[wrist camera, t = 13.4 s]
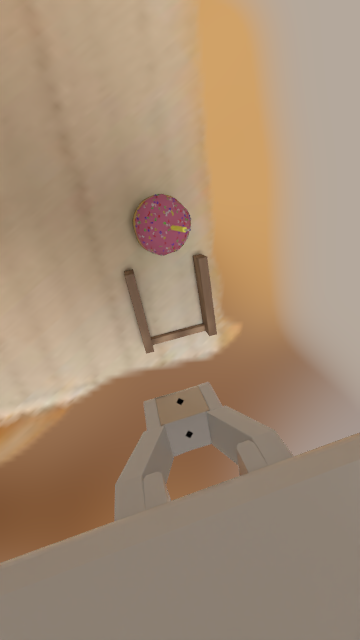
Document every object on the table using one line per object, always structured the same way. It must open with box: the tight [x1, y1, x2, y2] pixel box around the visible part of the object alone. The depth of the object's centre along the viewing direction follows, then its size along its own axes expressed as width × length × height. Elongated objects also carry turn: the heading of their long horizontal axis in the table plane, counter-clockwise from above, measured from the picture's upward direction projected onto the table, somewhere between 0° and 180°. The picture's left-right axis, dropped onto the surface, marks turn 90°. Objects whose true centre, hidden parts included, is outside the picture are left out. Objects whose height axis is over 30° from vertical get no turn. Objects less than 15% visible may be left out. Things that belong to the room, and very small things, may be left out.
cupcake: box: [133, 194, 191, 255], centre depth 36 cm, size 9×8×12 cm
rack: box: [124, 254, 217, 353], centre depth 45 cm, size 14×15×4 cm
